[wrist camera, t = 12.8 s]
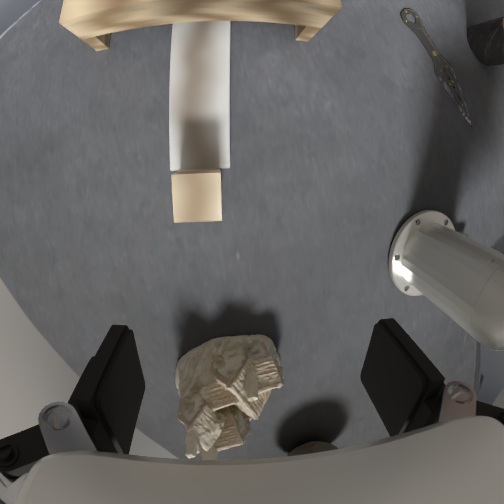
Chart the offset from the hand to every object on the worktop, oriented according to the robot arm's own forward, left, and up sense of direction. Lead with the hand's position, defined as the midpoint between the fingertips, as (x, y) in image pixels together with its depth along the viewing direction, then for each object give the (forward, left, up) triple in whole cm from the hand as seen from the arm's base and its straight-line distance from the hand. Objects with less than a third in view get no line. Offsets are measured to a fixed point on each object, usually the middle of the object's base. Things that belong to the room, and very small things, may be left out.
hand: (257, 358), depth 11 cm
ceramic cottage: (+1, +24, -24) cm, 34 cm away
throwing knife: (-29, -22, -24) cm, 44 cm away
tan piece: (+3, -14, -24) cm, 27 cm away
